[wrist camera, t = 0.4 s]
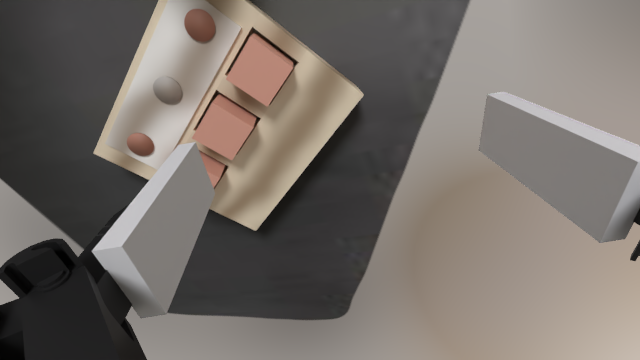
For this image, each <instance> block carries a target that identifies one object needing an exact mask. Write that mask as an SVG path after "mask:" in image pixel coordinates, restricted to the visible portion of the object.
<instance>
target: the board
mask: <svg viewBox="0 0 640 360" xmlns="http://www.w3.org/2000/svg"><path fill="white" fill-rule="evenodd" d="M254 33H256V34H258V35H259V36H260V37H262V38H263V39H264V40H265V41H267V42H268V43H269V44H271V45H272V46H273V47H275V48H276V49H277V50H279V51H280V52H281V53H283V54H284V55H285V56H287V57H288V58H289V59H291V60H292V61H293V69H292V70H291V72H290V74H289V75H288V77H287V78H286V80H285V81H284V83H283V84H282V86H281V87H280V89H279V90H278V92H277V93H276V95H275V96H274V98H273V99H272V101H271V102H270V104H269V105H268V107H267V106H265V105H264V104H262V103H261V102H259V101H258V100H256V99H255V98H253V97H252V96H250V95H249V94H247V93H246V92H244V91H243V90H241V89H240V88H238V87H237V86H235V85H234V84H232V83H231V82H229V81H228V80H226V78H227V76H228V74H229V72H230V71H231V69H232V67H233V65H234V64H235V62H236V60H237V59H238V57H239V55H240V53H241V52H242V50H243V48H244V46H245V45H246V43H247V41H248V39H249V38H250V36H251V35H252V34H254ZM220 93H222V94H223V95H225V96H227V97H228V98H230V99H231V100H233V101H234V102H236V103H237V104H239V105H241V106H242V107H244V108H245V109H247V110H248V111H250V112H252V113H253V114H255V115H256V116H257V118H256V121H255V125H254V128H253V129H252V131H251V132H250V134H249V135H248V137H247V138H246V140H245V141H244V143H243V144H242V146H241V147H240V149H239V151H238V152H237V154H236V155H235V157H234V158H233V160H230V159H228V158H226V157H224V156H223V155H221V154H219V153H217V152H215V151H214V150H212V149H210V148H208V147H207V146H205V145H203V144H201V143H199V142H198V141H196V140H194V139H192V137H193V135H194V133H195V132H196V130H197V128H198V126H199V125H200V123H201V121H202V119H203V118H204V116H205V114H206V112H207V111H208V109H209V107H210V106H211V104H212V102H213V101H214V100H215V98H216V97H217V96H218V95H219V94H220ZM363 96H364V94H363V93H362V92H361V91H360V89H359V88H358V87H357V86H356V85H355V84H354V83H352V82H351V81H350V80H348V79H347V78H346V77H345V76H343V75H342V74H341V73H340V72H338V71H337V70H336V69H335V68H333V67H332V66H331V65H330V64H328V63H327V62H326V61H325V60H323V59H322V58H321V57H320V56H318V55H317V54H316V53H315V52H313V51H312V50H311V49H309V48H308V47H307V46H306V45H304V44H303V43H302V42H301V41H299V40H298V39H297V38H296V37H294V36H293V35H292V34H291V33H289V32H288V31H287V30H286V29H284V28H283V27H282V26H281V25H279V24H278V23H277V22H276V21H274V20H273V19H272V18H271V17H269V16H268V15H267V14H265V13H264V12H263V11H262V10H260V9H259V8H258V7H257V6H255V5H254V4H253V3H252V2H250V1H249V0H159V1H158V3H157V6H156V8H155V10H154V13H153V15H152V17H151V20H150V22H149V24H148V27H147V29H146V31H145V34H144V36H143V38H142V41H141V43H140V45H139V48H138V50H137V52H136V55H135V57H134V59H133V62H132V64H131V66H130V69H129V71H128V73H127V76H126V78H125V80H124V83H123V85H122V87H121V90H120V92H119V94H118V97H117V99H116V101H115V104H114V106H113V108H112V111H111V113H110V115H109V118H108V120H107V122H106V125H105V127H104V130H103V132H102V134H101V137H100V139H99V141H98V144H97V146H96V148H95V151H94V154H96V155H98V156H100V157H102V158H104V159H106V160H108V161H110V162H113V163H115V164H117V165H119V166H121V167H123V168H125V169H127V170H129V171H131V172H133V173H136V174H138V175H140V176H142V177H144V178H146V179H148V180H150V179H151V178H152V177H153V175H154V174H155V173H156V172H157V170H158V169H159V168H160V167H161V166H162V164H163V163H164V162H165V161H166V159H167V158H168V157H169V156H170V155H171V153H172V152H173V151H174V150H175V148H176V147H177V146H178V145H180V144H186V143H192V142H196V144H197V147H198V150H200V151H202V152H203V153H205V154H207V155H209V156H211V157H212V158H214V159H216V160H218V161H220V162H222V163H223V164H225V167H224V170H223V172H222V175H221V177H220V179H219V181H218V182H217V184H216V185H215V187H214V191H215V195H214V198H213V200H212V203H211V205H210V208H209V209H211V210H213V211H215V212H217V213H219V214H221V215H223V216H225V217H228V218H230V219H232V220H234V221H236V222H238V223H240V224H242V225H244V226H246V227H248V228H251V229H253V230H255V231H256V230H257V229H258V228H259V226H260V225H261V224H262V223H263V221H264V220H265V219H266V218H267V216H268V215H269V214H270V213H271V211H272V210H273V209H274V208H275V206H276V205H277V204H278V203H279V201H280V200H281V199H282V198H283V196H284V195H285V194H286V192H287V191H288V190H289V189H290V187H291V186H292V185H293V184H294V182H295V181H296V180H297V179H298V177H299V176H300V175H301V174H302V172H303V171H304V170H305V169H306V167H307V166H308V165H309V164H310V162H311V161H312V160H313V159H314V157H315V156H316V155H317V153H318V152H319V151H320V150H321V148H322V147H323V146H324V145H325V143H326V142H327V141H328V140H329V138H330V137H331V136H332V135H333V133H334V132H335V131H336V130H337V128H338V127H339V126H340V125H341V123H342V122H343V121H344V120H345V118H346V117H347V116H348V114H349V113H350V112H351V111H352V109H353V108H354V107H355V106H356V104H357V103H358V102H359V101H360V99H361V98H362V97H363Z"/></svg>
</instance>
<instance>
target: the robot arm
mask: <svg viewBox="0 0 640 360" xmlns="http://www.w3.org/2000/svg"><path fill="white" fill-rule="evenodd" d="M479 151H480V152H482V153H483V154H484V155H486V156H487V157H488V158H490V159H491V160H492V161H493V162H495V163H496V164H497V165H499V166H500V167H501V168H503V169H504V170H505V171H507V172H508V173H509V174H510V175H512V176H513V177H514V178H516V179H517V180H518V181H520V182H521V183H522V184H524V185H525V186H526V187H528V188H529V189H530V190H531V191H533V192H534V193H535V194H537V195H538V196H539V197H541V198H542V199H543V200H544V201H546V202H547V203H548V204H550V205H551V206H552V207H554V208H555V209H556V210H558V211H559V212H560V213H562V214H563V215H564V216H566V217H567V218H568V219H569V220H571V221H572V222H573V223H575V224H576V225H577V226H578V227H580V228H581V229H582V230H584V231H585V232H586V233H588V234H589V235H590V236H592V237H593V238H594V239H596V240H597V241H598V242H599V243H602V242H608V241H615V240H621V239H625V238H626V236H627V234H628V232H629V230H630V229H631V227H632V225H633V223H634V222H635V223H637V224H638V225H640V145H637V144H635V143H632V142H629V141H627V140H624V139H622V138H619V137H617V136H614V135H612V134H609V133H607V132H604V131H602V130H599V129H596V128H594V127H592V126H589V125H587V124H584V123H582V122H579V121H577V120H574V119H572V118H569V117H567V116H564V115H562V114H559V113H557V112H554V111H551V110H549V109H546V108H544V107H542V106H539V105H537V104H534V103H532V102H529V101H527V100H524V99H522V98H519V97H516V96H514V95H511V94H509V93H506V92H499V93H493V94H487V99H486V106H485V112H484V119H483V126H482V132H481V139H480V145H479ZM214 195H215V191H214V188H213V186H212V183H211V181H210V178H209V175H208V173H207V170H206V168H205V165H204V163H203V160H202V157H201V155H200V152H199V150H198V147H197V144H196V142H192V143H186V144H180V145H178V146H177V147H176V148H175V150H174V151H173V152H172V153H171V155H170V156H169V157H168V158H167V159H166V161H165V162H164V163H163V164H162V166H161V167H160V168H159V169H158V170H157V172H156V173H155V174H154V175H153V177H152V178H151V179H150V180H149V182H148V183H147V184H146V185H145V186H144V188H143V189H142V190H141V191H140V193H139V194H138V195H137V196H136V197H135V199H134V200H133V201H132V202H131V204H130V205H128V206H126V207H124V208H123V209H122V210H120V211H119V212H118V213H116V214H115V215H114V216H113V217H112V218H111V219H110V220H109V222H108V223H107V224H106V225H105V227H104V228H103V229H102V230H101V231H100V232H99V233H98V236H96V237H95V238H94V239H93V240H92V242H91V243H90V244H89V245H88V246H87V247H86V249H85V250H84V251H83V252H82V253H81V254H80V256H79V257H77V256H76V255H75V253H74V252H73V251H72V249H71V248H70V247H69V245H68V244H67V243H66V242H65V241H64V240H63V239H51V240H46V241H43V242H40V243H37V244H35V245H32V246H30V247H28V248H26V249H24V250H23V251H21V252H19V253H17V254H16V255H15V256H13V257H12V258H10V259H9V260H8V261H7V262H5V263H4V265H3V266H2V267H1V268H0V279H1V280H2V281H3V282H4V283H5V284H6V285H7V286H8V287H9V288H10V289H11V290H12V291H13V292H14V293H15V294H16V295H17V296H18V297H19V299H16V300H14V301H11V302H8V303H5V304H3V305H0V360H147V359H146V357H145V355H144V353H143V350H142V348H141V346H140V344H139V342H138V340H137V338H136V335H135V333H134V331H133V329H132V327H131V325H130V324H129V322H128V321H127V320H126V318H125V317H126V315H127V313H128V312H129V310H130V308H131V306H132V307H133V308H134V310H135V311H136V312H137V314H138V315H139V316H140V318H146V317H152V316H158V315H164V314H167V311H168V309H169V306H170V304H171V301H172V299H173V296H174V294H175V291H176V289H177V287H178V284H179V282H180V279H181V277H182V274H183V272H184V269H185V267H186V264H187V262H188V259H189V257H190V255H191V252H192V250H193V247H194V245H195V242H196V240H197V237H198V235H199V232H200V230H201V227H202V225H203V223H204V220H205V218H206V215H207V213H208V210H209V208H210V205H211V203H212V200H213V198H214ZM638 256H640V241H639V242H638V244H637V246H636V248H635V250H634V251H633V253H632V255H631V258H630V260H633V261H636V259H637V257H638Z"/></svg>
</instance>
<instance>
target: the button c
mask: <svg viewBox="0 0 640 360" xmlns="http://www.w3.org/2000/svg"><path fill="white" fill-rule="evenodd" d="M292 69H293V61H292V60H291V59H289V58H288V57H287V56H285V55H284V54H283V53H281V52H280V51H279V50H277V49H276V48H275V47H273V46H272V45H271V44H269V43H268V42H267V41H265V40H264V39H263V38H262V37H260V36H259V35H258V34H256V33H254V34H252V35H251V36H250V38H249V39H248V41H247V43H246V45H245V46H244V48H243V50H242V52H241V53H240V55H239V57H238V59H237V60H236V62H235V64H234V65H233V67H232V69H231V71H230V72H229V74H228V76H227V78H226V80H228V81H229V82H231V83H232V84H234V85H235V86H237V87H238V88H240V89H241V90H243V91H244V92H246V93H247V94H249V95H250V96H252V97H253V98H255V99H256V100H258V101H259V102H261V103H262V104H264V105H265V106H267V107H268V105H269V104H270V102H271V101H272V99H273V98H274V96H275V95H276V93H277V92H278V90H279V89H280V87H281V86H282V84H283V83H284V81H285V80H286V78H287V77H288V75H289V74H290V72H291V70H292Z"/></svg>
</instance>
